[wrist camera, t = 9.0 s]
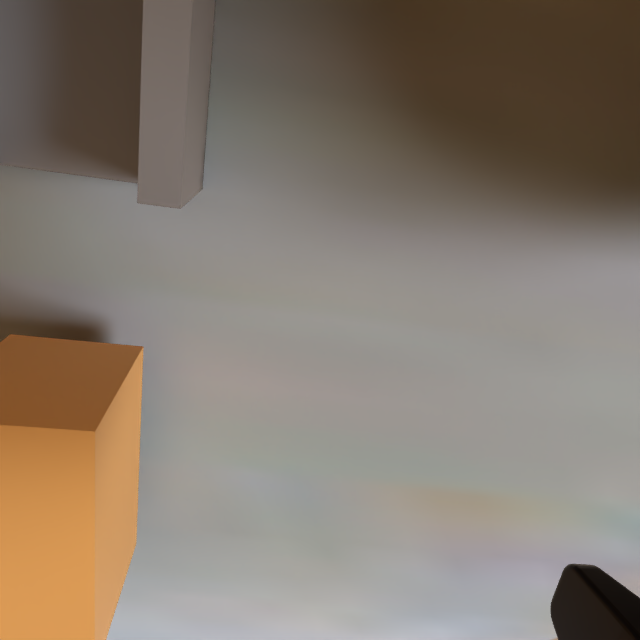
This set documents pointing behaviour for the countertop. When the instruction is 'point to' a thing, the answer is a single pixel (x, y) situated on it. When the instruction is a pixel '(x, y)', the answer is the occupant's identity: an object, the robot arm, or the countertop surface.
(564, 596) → the robot arm
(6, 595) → the plug
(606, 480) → the countertop surface
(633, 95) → the countertop surface
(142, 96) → the socket box
